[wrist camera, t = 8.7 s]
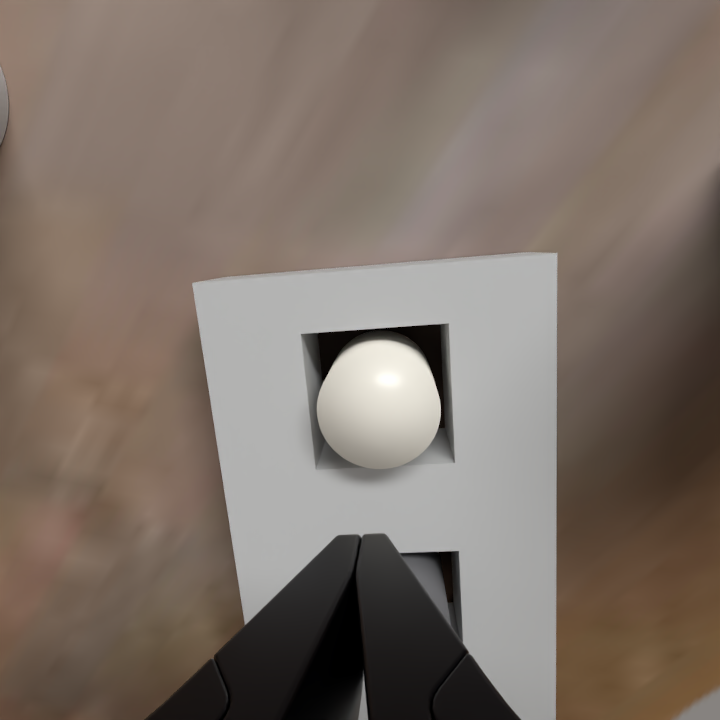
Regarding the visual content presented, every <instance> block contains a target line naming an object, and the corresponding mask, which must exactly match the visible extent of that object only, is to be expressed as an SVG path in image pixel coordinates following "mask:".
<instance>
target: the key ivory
mask: <svg viewBox="0 0 720 720" xmlns="http://www.w3.org/2000/svg"><path fill="white" fill-rule="evenodd" d="M440 417H441V405H440V398H439V395H438V391H437V388H436V385H435V381H434V378H433V375H432V372H431V368H430V365H429V362H428V360H427V358H426V356H425V354H424V353H423V351H422V350H421V349H420V347H419V346H418V345H417V344H416V343H415V342H413V341H412V340H411V339H409V338H408V337H406V336H404V335H402V334H399V333H397V332H393V331H387V330H376V331H370V332H366V333H363V334H361V335H358V336H357V337H355V338H353V339H352V340H350V341H349V342H348V343H347V344H346V345H345V346H344V347H343V348H342V349H341V351H340V352H339V354H338V356H337V357H336V359H335V361H334V363H333V365H332V367H331V369H330V371H329V373H328V375H327V377H326V379H325V381H324V382H323V384H322V387H321V389H320V392H319V396H318V400H317V418H318V423H319V426H320V429H321V432H322V434H323V436H324V438H325V439H326V441H327V443H328V444H329V445H330V446H331V448H332V449H333V450H334V451H335V452H336V453H338V454H339V455H340V456H341V457H343V458H344V459H346V460H347V461H349V462H351V463H353V464H356V465H358V466H362V467H365V468H371V469H388V468H394V467H398V466H401V465H404V464H406V463H408V462H410V461H412V460H413V459H415V458H416V457H418V456H419V455H420V454H421V453H422V452H424V451H425V450H426V448H427V447H428V446H429V445H430V443H431V442H432V440H433V439H434V437H435V435H436V433H437V430H438V427H439V424H440Z"/></svg>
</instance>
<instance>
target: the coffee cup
mask: <svg viewBox="0 0 720 720" xmlns="http://www.w3.org/2000/svg"><path fill="white" fill-rule="evenodd" d="M8 112H9V101H8V92H7V86H6V82H5V78H4V74H3V71H2V68H1V66H0V145H1V143H2V140H3V138H4V135H5V131H6V127H7V122H8Z"/></svg>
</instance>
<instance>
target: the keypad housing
mask: <svg viewBox="0 0 720 720" xmlns="http://www.w3.org/2000/svg"><path fill="white" fill-rule="evenodd" d="M192 285H193V291H194V298H195V304H196V311H197V317H198V324H199V330H200V336H201V343H202V349H203V356H204V362H205V369H206V375H207V382H208V388H209V395H210V401H211V408H212V414H213V421H214V427H215V434H216V440H217V447H218V453H219V459H220V466H221V472H222V479H223V485H224V492H225V498H226V505H227V511H228V518H229V524H230V531H231V537H232V544H233V550H234V557H235V563H236V570H237V576H238V583H239V589H240V595H241V602H242V608H243V615H244V621H245V625H246V624H247V623H248V622H249V621H250V620H251V619H252V618H253V617H254V616H255V615H256V614H257V613H258V612H259V611H260V610H261V609H262V608H263V607H264V606H265V605H266V604H267V603H268V602H269V601H270V600H271V599H272V598H273V597H274V596H275V595H276V594H277V593H278V592H280V591H281V590H282V589H283V588H284V587H285V586H286V585H287V584H288V583H289V582H290V581H291V580H292V579H293V578H294V577H295V576H296V575H297V574H298V573H299V572H300V571H301V570H302V569H303V568H304V567H305V566H306V565H307V564H308V563H309V562H310V561H311V560H312V559H313V558H314V557H315V556H316V555H317V554H318V553H319V552H320V551H322V550H323V549H324V548H325V547H326V546H327V545H328V544H329V543H330V542H331V541H332V540H333V539H334V538H335V537H336V536H337V535H347V534H358V535H360V536H361V538H362V536H363V535H364V534H373V533H384V534H386V535H387V536H388V537H389V539H390V540H391V542H392V543H393V544H394V546H395V547H396V549H397V550H398V552H399V553H415V552H444V551H451V562H452V583H453V602H452V603H448V610H449V617H450V623H451V627H452V628H453V630H454V631H455V633H456V634H457V635H458V637H459V638H460V640H461V641H462V643H463V644H464V645H465V647H466V648H467V650H468V651H469V654H470V655H472V656H473V658H474V659H475V661H476V662H477V663H478V665H479V666H480V668H481V669H482V671H483V672H484V673H485V675H486V676H487V678H488V679H489V680H490V681H491V683H492V684H493V685H494V687H495V688H496V689H497V691H498V692H499V693H500V695H501V696H502V697H503V699H504V700H505V701H506V703H507V704H508V705H509V706H510V707H511V708H512V710H513V711H514V712H515V713H516V714H517V715H518V716H519V718H520V719H521V720H556V479H557V253H538V252H524V253H512V254H499V255H487V256H475V257H463V258H451V259H439V260H427V261H414V262H402V263H390V264H378V265H366V266H354V267H341V268H329V269H317V270H305V271H293V272H281V273H268V274H256V275H244V276H232V277H223V278H218V279H212V280H206V281H201V282H195V283H192ZM433 324H440V335H441V355H442V376H443V397H444V417H445V428H438V430H437V433H436V435H435V437H434V439H433V440H432V442H431V443H430V445H429V446H428V447H427V448H426V450H425V451H424V452H422V453H421V454H420V455H419V456H418V457H416V458H415V459H413V460H412V461H410V462H408V463H406V464H404V465H401V466H398V467H394V468H388V469H371V468H365V467H362V466H358V465H356V464H353V463H351V462H349V461H347V460H346V459H344V458H343V457H341V456H340V455H339V454H338V453H336V452H335V451H334V450H333V449H332V448H331V446H330V445H329V444H328V443H327V441H326V439H325V438H324V436H323V434H322V432H321V429H320V426H319V423H318V418H317V400H318V396H319V392H320V389H321V387H322V384H323V381H322V371H321V361H320V351H319V342H318V333H322V332H335V331H349V330H363V329H377V328H391V327H405V326H419V325H433ZM358 720H368V714H367V704H366V693H365V683H364V678H363V688H362V697H361V704H360V711H359V718H358Z"/></svg>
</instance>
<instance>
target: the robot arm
mask: <svg viewBox="0 0 720 720" xmlns="http://www.w3.org/2000/svg"><path fill="white" fill-rule="evenodd" d="M363 678H364V683H365V693H366V704H367V714H368V720H521V719H520V718H519V716H518V715H517V714H516V713H515V712H514V711H513V710H512V708H511V707H510V706H509V705H508V704H507V703H506V701H505V700H504V699H503V697H502V696H501V695H500V693H499V692H498V691H497V689H496V688H495V687H494V685H493V684H492V683H491V681H490V680H489V679H488V678H487V676H486V675H485V673H484V672H483V671H482V669H481V668H480V666H479V665H478V663H477V662H476V661H475V659H474V658H473V656H472V655H470V654H469V651H468V650H467V648H466V647H465V645H464V644H463V643H462V641H461V640H460V638H459V637H458V635H457V634H456V633H455V631H454V630H453V628H452V627H451V626H450V624H449V623H448V621H447V620H446V618H445V617H444V616H443V614H442V613H441V611H440V610H439V608H438V607H437V606H436V604H435V603H434V601H433V600H432V598H431V597H430V596H429V594H428V593H427V591H426V590H425V589H424V587H423V586H422V584H421V583H420V581H419V580H418V579H417V577H416V576H415V574H414V573H413V571H412V570H411V569H410V567H409V566H408V564H407V563H406V562H405V560H404V559H403V557H402V556H401V554H400V553H399V552H398V550H397V549H396V547H395V546H394V544H393V543H392V542H391V540H390V539H389V537H388V536H387V535H386V534H384V533H373V534H364V535H363V536H362V538H361V536H360V535H358V534H347V535H337V536H336V537H335V538H334V539H333V540H332V541H331V542H330V543H329V544H328V545H327V546H326V547H325V548H324V549H323V550H322V551H320V552H319V553H318V554H317V555H316V556H315V557H314V558H313V559H312V560H311V561H310V562H309V563H308V564H307V565H306V566H305V567H304V568H303V569H302V570H301V571H300V572H299V573H298V574H297V575H296V576H295V577H294V578H293V579H292V580H291V581H290V582H289V583H288V584H287V585H286V586H285V587H284V588H283V589H282V590H281V591H280V592H278V593H277V594H276V595H275V596H274V597H273V598H272V599H271V600H270V601H269V602H268V603H267V604H266V605H265V606H264V607H263V608H262V609H261V610H260V611H259V612H258V613H257V614H256V615H255V616H254V617H253V618H252V619H251V620H250V621H249V622H248V623H247V624H246V625H245V626H244V627H243V628H242V629H241V630H240V631H239V632H238V633H236V634H235V635H234V636H233V637H232V638H231V639H230V640H229V641H228V642H227V643H226V644H225V645H224V646H223V647H222V648H221V649H220V650H219V651H218V652H217V653H216V654H215V655H214V659H210V660H209V661H208V662H206V663H205V664H204V665H203V666H202V667H201V668H200V669H199V670H198V671H197V672H196V673H195V674H194V675H193V676H192V677H191V678H190V679H189V680H188V681H187V682H186V683H185V684H184V685H182V686H181V687H180V688H179V689H178V690H177V691H176V692H175V693H174V694H173V695H172V696H171V697H170V698H168V699H167V700H166V701H165V702H164V703H163V704H162V705H161V706H160V707H159V708H157V709H156V710H155V711H154V712H153V713H152V714H150V715H149V716H148V717H147V718H146V719H145V720H358V718H359V711H360V704H361V697H362V688H363Z"/></svg>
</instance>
